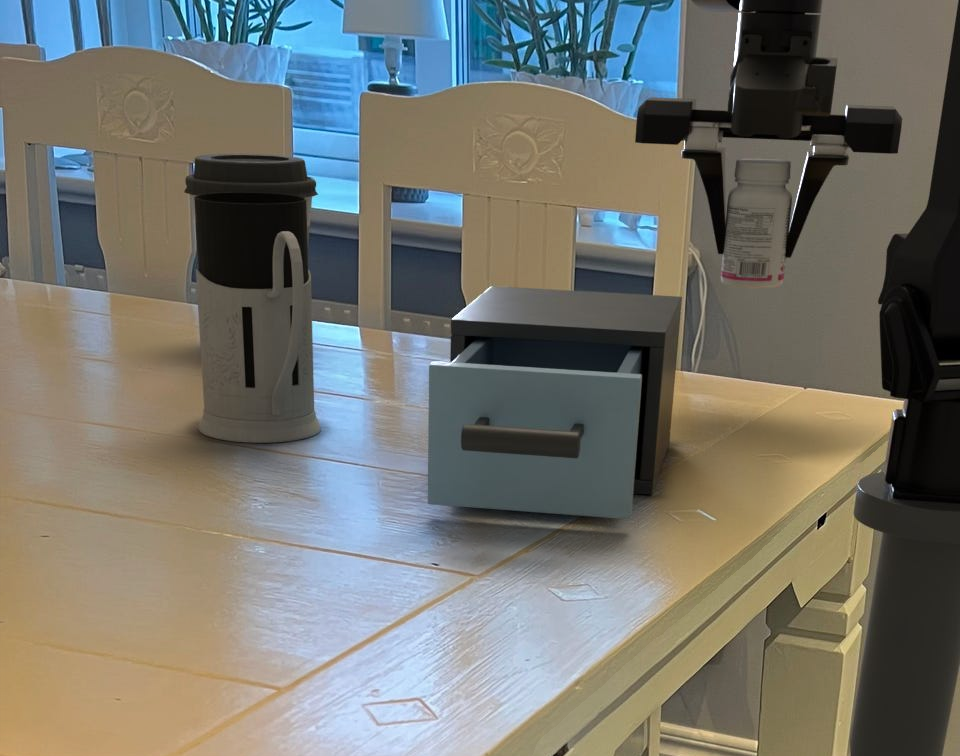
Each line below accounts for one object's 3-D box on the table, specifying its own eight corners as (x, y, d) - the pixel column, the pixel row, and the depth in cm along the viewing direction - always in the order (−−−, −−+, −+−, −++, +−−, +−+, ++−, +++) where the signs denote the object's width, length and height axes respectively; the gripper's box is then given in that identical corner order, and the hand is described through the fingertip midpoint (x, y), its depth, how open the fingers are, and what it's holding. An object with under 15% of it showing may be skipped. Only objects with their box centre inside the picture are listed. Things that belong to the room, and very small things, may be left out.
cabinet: (652, 495, 102) (665, 332, 97) (448, 480, 103) (450, 319, 98) (669, 443, 114) (682, 296, 109) (486, 431, 116) (491, 285, 111)
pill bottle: (748, 278, 124) (761, 157, 119) (795, 286, 121) (810, 162, 116) (706, 282, 121) (718, 158, 117) (753, 290, 118) (766, 163, 114)
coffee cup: (290, 363, 136) (284, 166, 128) (170, 352, 139) (157, 159, 131) (341, 341, 145) (338, 157, 137) (227, 331, 148) (218, 150, 140)
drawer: (621, 541, 89) (632, 394, 85) (410, 525, 91) (411, 380, 87) (649, 465, 105) (659, 337, 100) (468, 452, 106) (471, 326, 102)
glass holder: (298, 411, 120) (292, 190, 112) (365, 455, 109) (362, 213, 101) (184, 419, 116) (169, 191, 109) (241, 465, 105) (228, 215, 98)
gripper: (636, 8, 106) (620, 262, 114) (922, 16, 104) (884, 276, 112) (650, 10, 116) (634, 244, 124) (912, 17, 113) (878, 257, 121)
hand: (754, 255), depth 120 cm, fingers closed on pill bottle, 5 cm apart
